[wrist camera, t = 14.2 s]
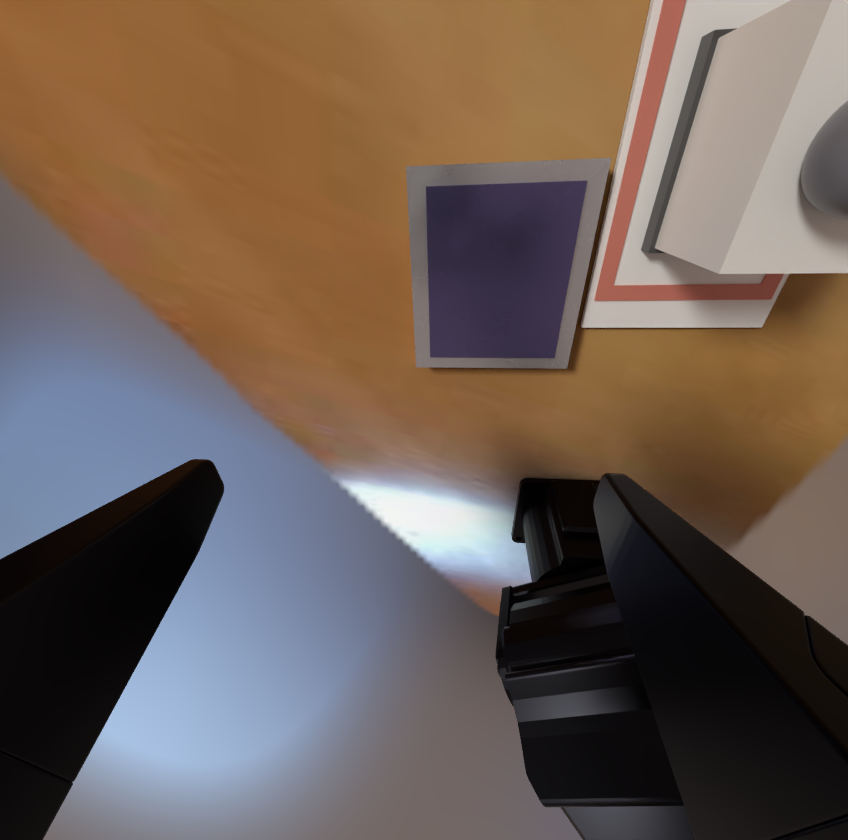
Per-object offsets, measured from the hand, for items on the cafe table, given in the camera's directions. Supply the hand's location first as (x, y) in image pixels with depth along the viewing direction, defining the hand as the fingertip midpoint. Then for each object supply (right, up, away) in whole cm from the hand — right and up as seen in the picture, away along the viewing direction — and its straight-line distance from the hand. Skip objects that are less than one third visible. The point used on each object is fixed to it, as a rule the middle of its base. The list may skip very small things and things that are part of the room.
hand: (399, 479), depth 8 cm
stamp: (+13, +12, +6) cm, 18 cm away
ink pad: (+4, +9, +9) cm, 13 cm away
